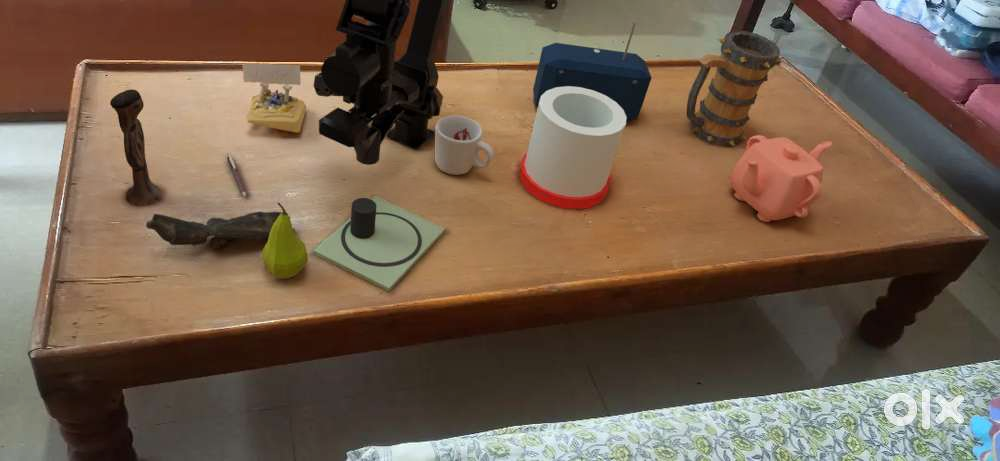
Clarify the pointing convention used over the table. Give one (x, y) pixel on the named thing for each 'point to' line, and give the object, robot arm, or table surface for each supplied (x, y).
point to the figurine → (135, 148)
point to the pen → (236, 175)
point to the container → (572, 147)
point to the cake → (275, 97)
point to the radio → (595, 74)
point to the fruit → (284, 249)
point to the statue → (213, 228)
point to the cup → (459, 145)
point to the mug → (731, 87)
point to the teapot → (778, 177)
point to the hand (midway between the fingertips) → (368, 152)
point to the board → (382, 245)
